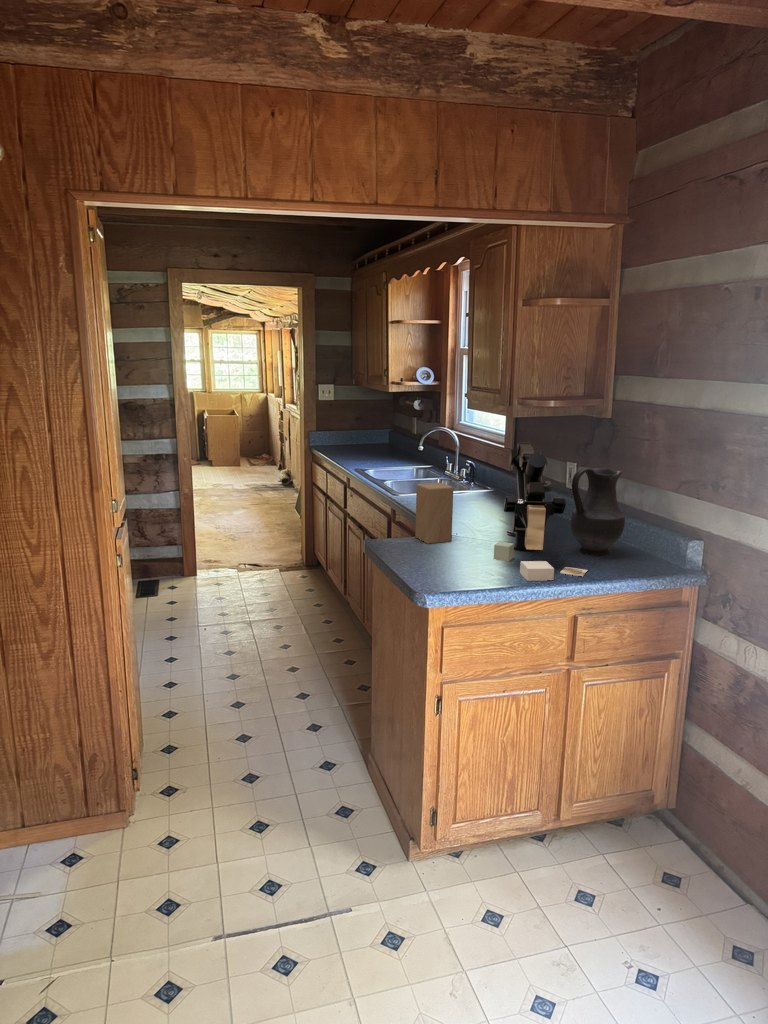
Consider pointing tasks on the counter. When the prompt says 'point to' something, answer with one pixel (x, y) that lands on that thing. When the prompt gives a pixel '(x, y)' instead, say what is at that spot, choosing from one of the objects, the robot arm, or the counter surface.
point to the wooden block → (434, 512)
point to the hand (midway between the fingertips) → (535, 527)
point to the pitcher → (597, 511)
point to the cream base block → (536, 570)
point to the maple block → (535, 527)
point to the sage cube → (503, 551)
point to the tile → (573, 571)
